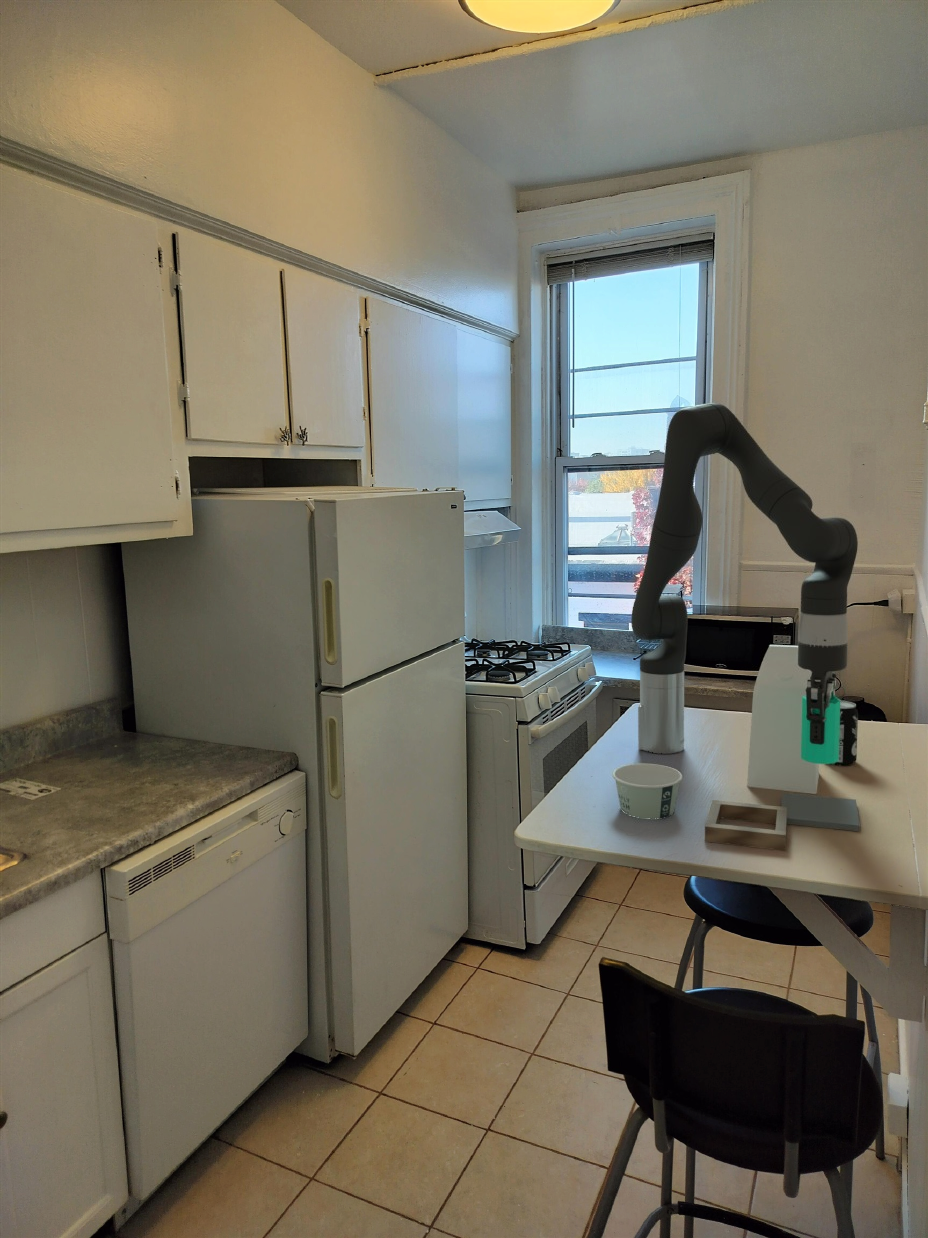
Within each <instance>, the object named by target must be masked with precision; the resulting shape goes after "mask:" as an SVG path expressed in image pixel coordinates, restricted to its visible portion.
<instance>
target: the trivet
mask: <svg viewBox="0 0 928 1238" xmlns="http://www.w3.org/2000/svg"><path fill="white" fill-rule="evenodd" d="M780 807H787V825H795V826H806V827H812V828H813V827H816V828H824V829H835V830H843V831H854V832H860V831H861V824H860V818H859V812H858V811H859V810H858V806H857V799H855V798H843V797H833V796H821V795H810V794H800V793H788V792H781V806H780Z"/></svg>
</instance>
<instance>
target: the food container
mask: <svg viewBox="0 0 928 1238" xmlns="http://www.w3.org/2000/svg"><path fill="white" fill-rule="evenodd" d="M611 775H612V778H613V779H614V780H615V785H616V790H617V794H618V799H619V800H618V801H619V807H620V810H621V809H622V810H623V811H624V812H625V813H627V814H628V815H631V816H635V817H639V818H650V819H649V820H658V819H657V818H662V819H665V818H664V817H666V818H668V817H667V816H669V817H671V816H672V815H673V814H674V813H675V808H676V802H677V798H678V792H679V785H680V782H681V781H682V780H683V775H682V773H681V772H680V771H679V770H678V769H676V768H673V767H670V766H667V765H662V764H657V763H632V764H625V765H622V766H619V767H617V768H615V769H614V770H613V771H612V774H611ZM673 812H674V813H673ZM628 815H627V816H628ZM670 815H671V816H670ZM631 816H630V817H631ZM639 818H638V819H639ZM655 818H656V819H655Z"/></svg>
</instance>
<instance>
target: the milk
mask: <svg viewBox="0 0 928 1238" xmlns="http://www.w3.org/2000/svg"><path fill="white" fill-rule="evenodd" d="M811 674H812V672H811V671H810V670H808V669H803V668H801V667H799V665H798V645H788V644H787V645H785V644H784V645H783V644H769V645H768V648H767V650H766V652H765V654H764V657H763V659H762V662H761V664H760V667H759V670H758V674H757V677H756V680H755V683H754V687H753V694H752V705H751V706H752V708H751V721H750V722H751V723H750V724H751V725H750V736H749V748H748V749H749V750H748V765H747V767H748V768H747V778H746V779H747V781H746V786H747V787H748V788H757V789H758V788H759V789H768V790H769V789H770V790H776V791H785V792H795V793H804V794H814V795H815V794H817V792H818V784H819V777H820V764H817V763H812V762H807V761H805V760H803V759H801V733H802V697H803V696H806V688H807V680H808V679H810V676H811Z"/></svg>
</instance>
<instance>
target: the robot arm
mask: <svg viewBox="0 0 928 1238" xmlns="http://www.w3.org/2000/svg"><path fill="white" fill-rule="evenodd" d="M667 428H668V429H667V433H666V439H665V440H666V441H665V452H664V463H663V471H662V479H661V485H660V490H659V496H658V501H657V506H656V511H655V515H654V520H653V522H652V529H651V533H650V539H649V546H648V549H647V550H648V551H647V555H646V561H645V565H644V569H643V573H642V575H641V579H640V583H639V587H638V589H637V593H636V596H635V598H634V599H635V600H634V602H633V606H632V611H631V621H630V622H631V623H630V624H631V629H632V632H633V634H634V636H635V637H636V638H637V639H638V640H643V641H644V640H645V641H650V640H651V641H653V640H654V641H655V640H662V642H661V644H660V645H659V646H657V647H656V648H655V649H653V650H651V651H649V652H648V653H647V652H646V653H645V654H644V655H642V656H641V657H640V659H639V695H640V696H639V705H638V707H637V713H638V714H637V720H638V721H637V722H638V723H637V731H638V732H637V735H638V736H637V737H638V742H637V743H638V745H637V747H638V748H637V750H640V751H645V752H648V751H649V752H648V753H652V752H653V754H659V755H660V754H661V753H662V754H665V755H666V754H676V753H680V752H682V751H684V749H685V662H686V656H687V638H688V621H689V620H688V609H687V605H686V602H685V600H684V598H682V596H680V595H677V594H676V595H675V594H669V595H668V594H667V595H664V594H663V592H664V590H665V588H666V587H667V586H668V583H669V582H671V580H672V579H673V578H674V577H675V576H676V575H677V574H678V573H679V572H680V571H681V570H682V569H683V567H685V566H686V565H687V564H688V562H689V561H690V560H691V558H692V557H693V556H694V555H695V552H696V550H697V548H698V544H699V540H700V536H701V532H702V528H703V523H704V522H703V512H702V508H701V506H700V504H699V501H698V499H697V496H696V492H695V489H694V482H695V481H694V480H695V476H696V472H697V471H696V470H697V466H698V464H699V461H700V459H701V457H705V456H710V455H716V454H719V455H721V456H722V457H724V458H726V459H727V460H729V462H730V463H732V464H733V465H734V466H735V467H736V469H737V470H738V472H739V475H740V478H741V481H742V484H743V485H742V486H743V488H744V490H745V493H746V495H747V497H748V499H749V500H750V501H751V503H752V504H753V505H754V506H755V507H756V508H758V510H759V511H760V512H761V513H762V514H763V515H765V517H767V518H768V520H770V521H771V522H772V523H773V524H774V525H775V526H776V528H777V529H778V530H779V532H780V534H781V535H782V537H783V539H784V540H785V542H786V543H787V545H788V546H789V548H790V549H791V550H792V552H793V553H795V554H796V555H797V556H798V557H800V559H802V560H804V561H806V562H809V563H814V569H813V572H812V574H811V575H810V576H808V577H807V578H805V579H804V580H803V582H802V583H801V588H800V589H801V590H800V615H799V621H798V630H797V631H798V634H797V642H798V643H797V646H798V665H799V667H801V668H803V669H808V670H810V671H811V672H812V674H811V676H810V679H808V680H807V688H806V704H807V715H806V718H807V720H809V721H810V742H811V743H812V744H820V745H822V744H823V743H824V735H825V721H826V709H827V708H829V707H830V701H831V699H834V696H836V692H835V691H836V685H837V673H836V672H838V671H839V672H841V671H843V670H846V668H847V666H848V642H849V641H848V639H849V637H848V635H849V625H848V624H849V623H848V617H847V616H848V615H847V613H848V586H849V583H850V580H851V577H852V574H853V569H854V566H855V563H856V557H857V555H858V535H857V531H856V529H855V527H854V525H853V524H852V523H851V522H850V521H849V520H847V519H846V518H843V517H835V516H834V517H826V518H824V517H823V518H821V517H819V516H818V515H816V514H815V513H814V512H813V511H812V509H813V500H812V498H811V495H809V494H808V493H807V492H806V491H805V490H804V489H803V488H802V487H800V486H799V485H798V484H797V483H796V482H795V481H794V480H793V479H792V478H790V477H789V476H788V475H787V474H785V472H784V471H782V470H781V469H780V468H779V467H778V466H777V465H776V464H775V463H774V462H773V461H772V460H771V459H770V458H769V456H767V454H766V453H765V452H764V450H763V449H762V448H761V447H760V445H759V443H757V441H756V440H755V439H754V437H753V436H751V434H750V433H749V432H748V431H747V429H746V428H745V427H744V426H743V424H742V423H741V422H740V420H739V418H737V416H736V415H735V414H734V413H733V411H731V409H729V408H728V407H727V406H725V405H724V404H723V403H718V402H709V403H702V404H697V405H693V406H688V407H684V408H681V409H678V410H677V411H676V412H675V413H674V414H673V415H672V417H671V419H670V421H669V425H668V427H667ZM824 702H825V703H824ZM813 708H814V709H819V711H820V714H815V713H813Z"/></svg>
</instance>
